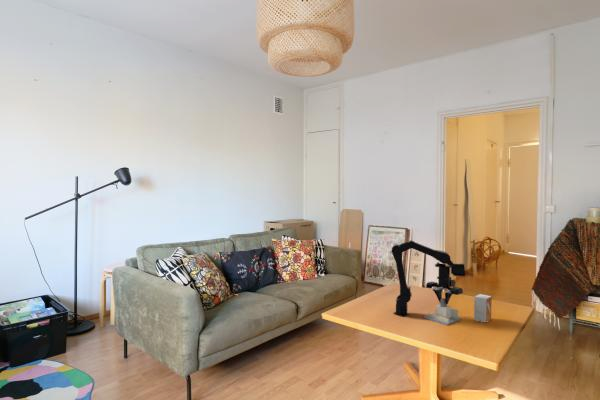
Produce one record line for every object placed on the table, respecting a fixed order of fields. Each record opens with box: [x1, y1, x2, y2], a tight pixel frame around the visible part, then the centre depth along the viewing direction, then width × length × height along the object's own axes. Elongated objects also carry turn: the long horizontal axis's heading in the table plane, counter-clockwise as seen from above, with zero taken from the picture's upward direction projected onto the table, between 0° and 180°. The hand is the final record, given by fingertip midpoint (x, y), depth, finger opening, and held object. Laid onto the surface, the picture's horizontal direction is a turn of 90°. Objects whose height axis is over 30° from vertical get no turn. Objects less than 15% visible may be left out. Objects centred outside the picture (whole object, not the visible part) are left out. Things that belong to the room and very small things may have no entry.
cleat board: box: [423, 304, 462, 326], centre depth 194 cm, size 14×14×6 cm
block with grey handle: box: [435, 297, 452, 319], centre depth 195 cm, size 5×6×10 cm
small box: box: [473, 293, 493, 323], centre depth 193 cm, size 8×6×13 cm
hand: (443, 303), depth 195 cm, fingers open, 3 cm apart
